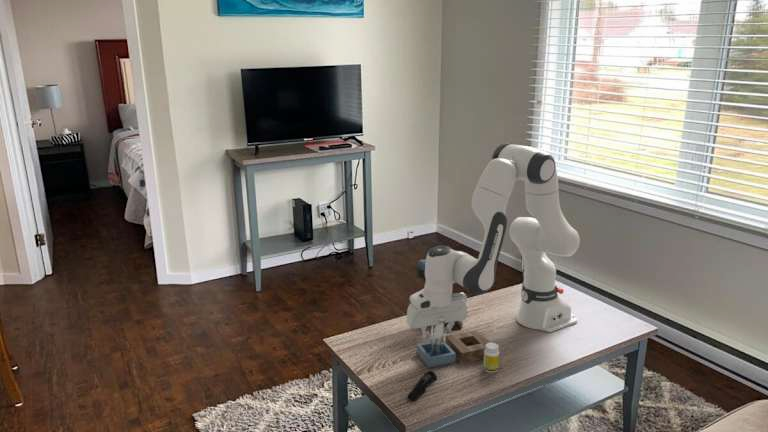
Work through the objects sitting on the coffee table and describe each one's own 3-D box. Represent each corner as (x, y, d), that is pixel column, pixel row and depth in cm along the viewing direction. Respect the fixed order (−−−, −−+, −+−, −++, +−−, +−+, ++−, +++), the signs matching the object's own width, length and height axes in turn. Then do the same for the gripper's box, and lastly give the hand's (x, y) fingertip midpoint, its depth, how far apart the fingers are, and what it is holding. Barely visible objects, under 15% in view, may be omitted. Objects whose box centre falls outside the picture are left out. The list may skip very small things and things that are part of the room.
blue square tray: (442, 348, 195) (442, 339, 194) (455, 363, 187) (455, 353, 186) (416, 353, 192) (416, 344, 191) (428, 368, 184) (428, 358, 182)
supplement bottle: (500, 371, 182) (502, 348, 180) (487, 374, 181) (488, 350, 178) (493, 363, 186) (495, 340, 184) (480, 366, 185) (482, 342, 183)
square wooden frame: (476, 340, 201) (476, 329, 200) (494, 357, 190) (494, 346, 189) (445, 346, 197) (445, 335, 196) (461, 364, 186) (462, 353, 185)
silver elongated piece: (436, 350, 193) (439, 308, 189) (446, 361, 187) (449, 317, 182) (425, 352, 192) (428, 309, 187) (434, 363, 185) (437, 319, 181)
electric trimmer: (403, 402, 168) (403, 392, 167) (426, 375, 180) (427, 366, 179) (414, 406, 166) (415, 397, 165) (437, 379, 178) (438, 370, 177)
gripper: (462, 287, 189) (460, 325, 193) (405, 296, 182) (404, 335, 186) (471, 295, 183) (469, 334, 187) (412, 305, 176) (411, 345, 181)
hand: (436, 335), depth 187 cm, fingers open, 6 cm apart
